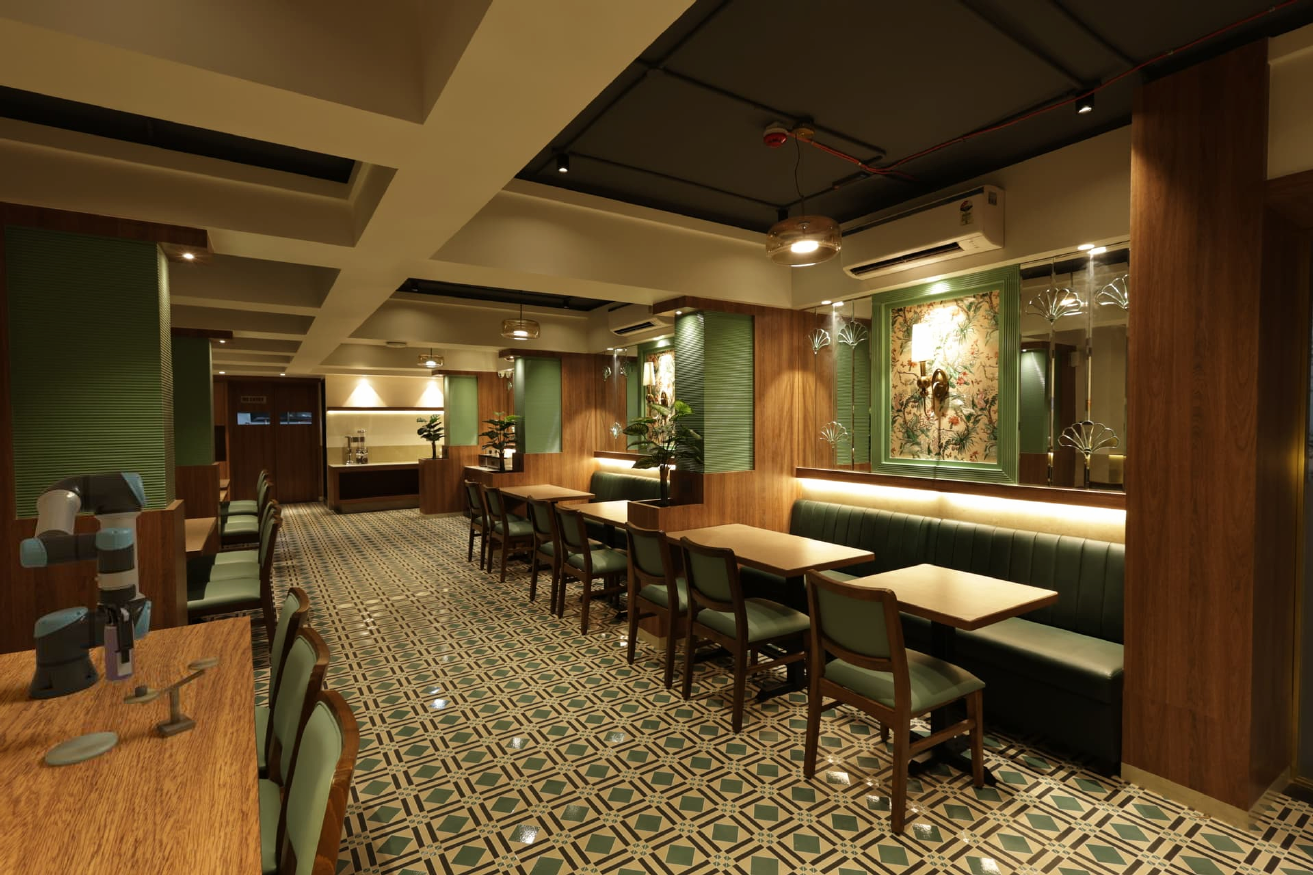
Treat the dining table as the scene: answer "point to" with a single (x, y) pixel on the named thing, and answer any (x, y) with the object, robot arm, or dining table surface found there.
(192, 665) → the balance
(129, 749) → the dining table surface
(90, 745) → the dish
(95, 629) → the robot arm
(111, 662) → the beverage can
